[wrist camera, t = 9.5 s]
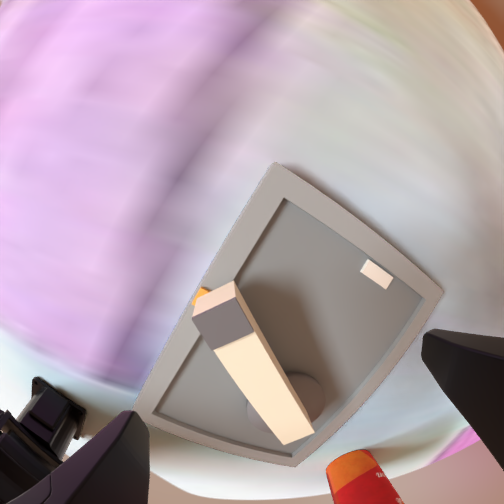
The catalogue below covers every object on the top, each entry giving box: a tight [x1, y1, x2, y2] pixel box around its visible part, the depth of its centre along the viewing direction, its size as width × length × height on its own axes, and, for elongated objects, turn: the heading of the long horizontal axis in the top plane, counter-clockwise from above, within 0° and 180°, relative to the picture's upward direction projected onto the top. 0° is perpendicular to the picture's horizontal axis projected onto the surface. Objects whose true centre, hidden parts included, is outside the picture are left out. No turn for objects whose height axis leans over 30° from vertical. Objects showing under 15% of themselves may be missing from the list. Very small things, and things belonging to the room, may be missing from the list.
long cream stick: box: [192, 281, 326, 445], centre depth 16 cm, size 14×6×4 cm, turn 26°
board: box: [131, 162, 444, 467], centre depth 19 cm, size 22×17×2 cm
